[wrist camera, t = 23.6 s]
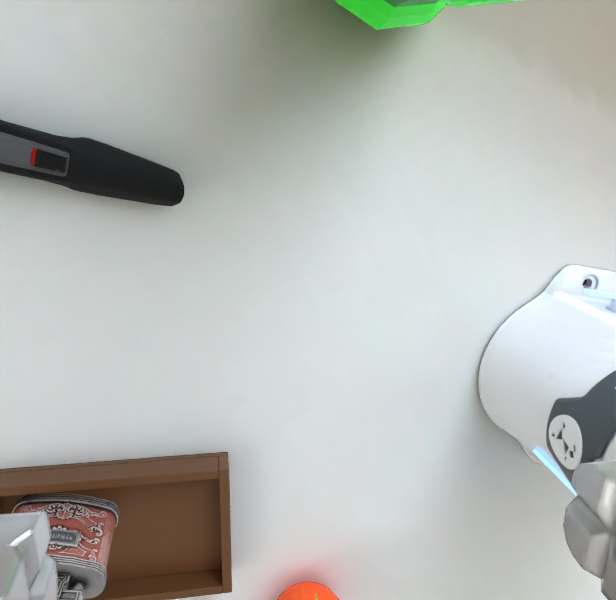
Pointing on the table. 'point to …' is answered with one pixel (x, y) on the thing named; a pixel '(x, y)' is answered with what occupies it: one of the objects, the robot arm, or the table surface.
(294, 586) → the clementine
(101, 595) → the tray
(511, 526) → the table surface
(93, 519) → the lighter
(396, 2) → the plastic bottle
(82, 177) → the electric trimmer
